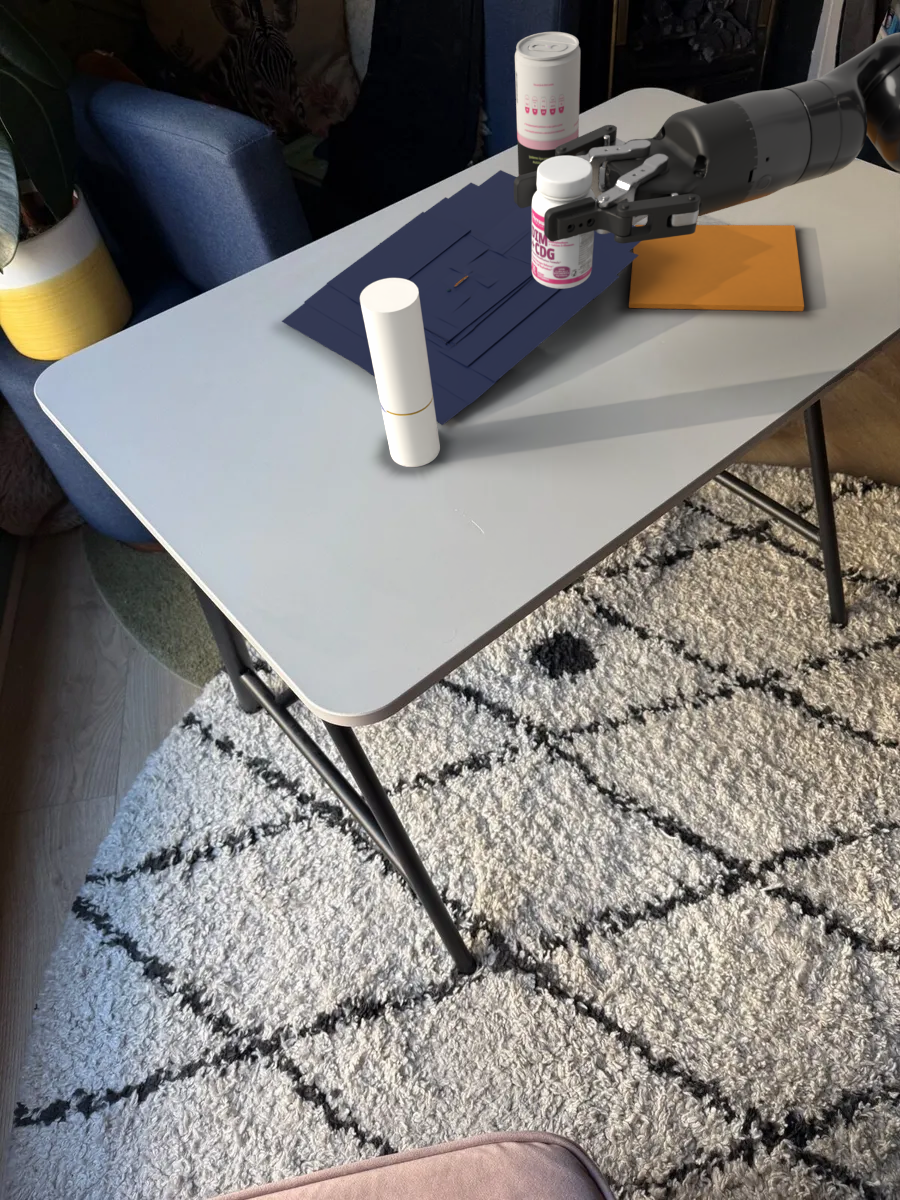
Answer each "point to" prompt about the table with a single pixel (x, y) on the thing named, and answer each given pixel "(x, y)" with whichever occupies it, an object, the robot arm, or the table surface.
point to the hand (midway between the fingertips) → (531, 209)
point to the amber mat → (719, 270)
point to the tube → (401, 369)
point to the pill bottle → (564, 257)
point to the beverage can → (546, 96)
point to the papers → (461, 291)
